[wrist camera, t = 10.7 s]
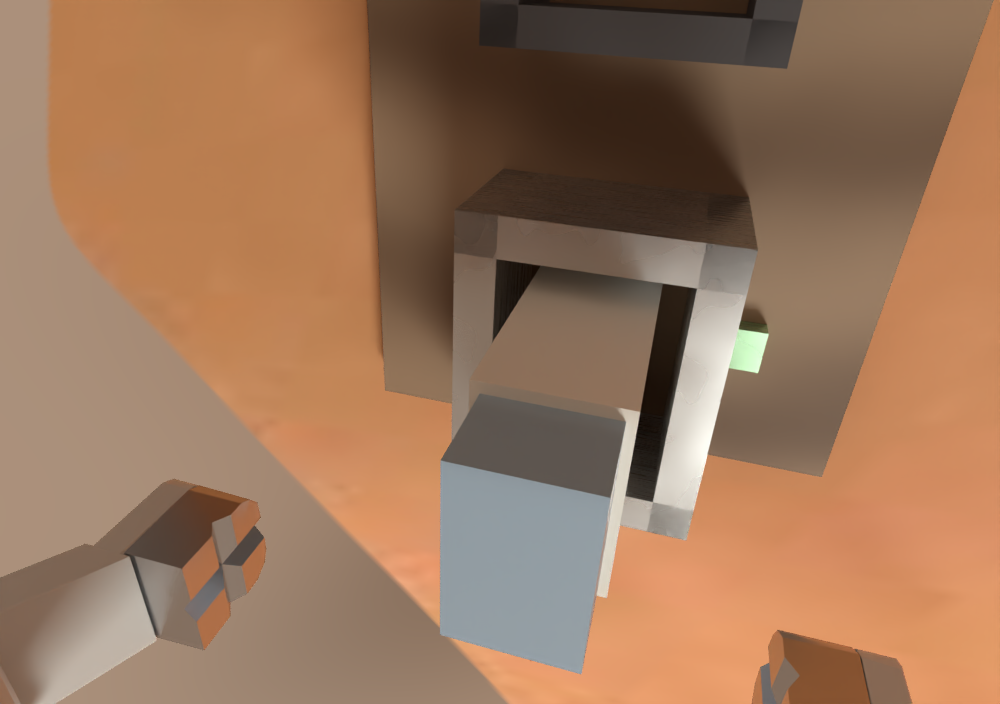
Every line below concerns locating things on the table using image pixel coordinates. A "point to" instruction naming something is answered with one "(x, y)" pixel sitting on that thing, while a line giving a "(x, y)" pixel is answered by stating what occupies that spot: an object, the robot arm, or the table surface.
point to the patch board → (680, 180)
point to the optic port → (628, 254)
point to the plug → (545, 466)
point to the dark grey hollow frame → (645, 31)
